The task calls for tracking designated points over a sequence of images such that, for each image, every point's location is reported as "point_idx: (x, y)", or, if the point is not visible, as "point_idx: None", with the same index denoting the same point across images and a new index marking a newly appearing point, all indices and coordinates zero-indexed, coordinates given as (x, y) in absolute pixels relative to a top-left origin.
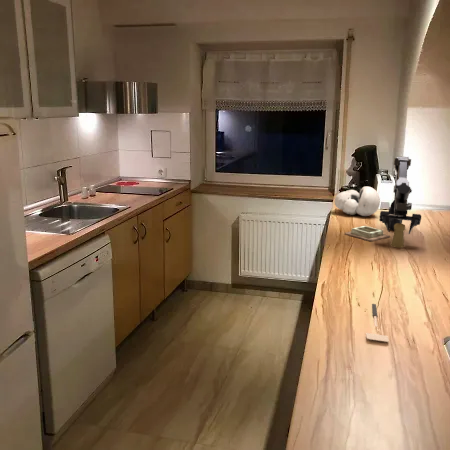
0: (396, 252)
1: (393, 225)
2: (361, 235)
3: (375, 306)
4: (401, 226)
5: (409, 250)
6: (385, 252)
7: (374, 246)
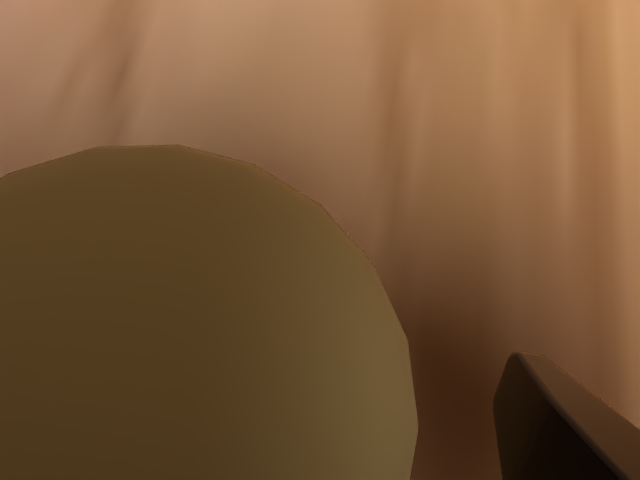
0: (309, 40)
1: None
2: None
3: None
4: (114, 151)
5: None
6: (468, 14)
7: (623, 281)
